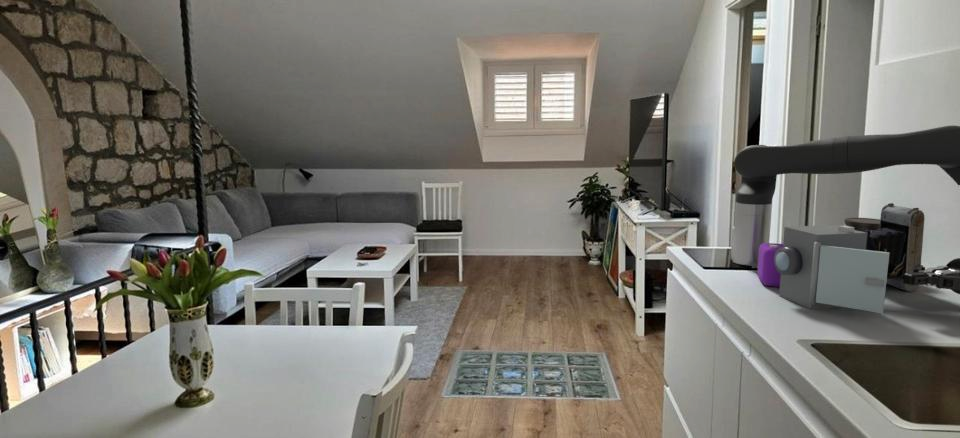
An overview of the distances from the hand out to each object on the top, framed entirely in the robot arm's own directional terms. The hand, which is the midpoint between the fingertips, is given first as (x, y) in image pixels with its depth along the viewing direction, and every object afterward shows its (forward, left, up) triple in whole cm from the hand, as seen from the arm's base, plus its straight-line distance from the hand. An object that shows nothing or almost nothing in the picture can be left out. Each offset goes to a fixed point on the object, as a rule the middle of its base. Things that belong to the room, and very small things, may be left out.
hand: (906, 279), depth 117 cm
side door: (-3, -11, -6) cm, 13 cm away
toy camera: (-30, -6, -8) cm, 31 cm away
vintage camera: (-21, +13, -8) cm, 26 cm away
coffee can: (-34, +22, -8) cm, 41 cm away
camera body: (-14, -9, -8) cm, 18 cm away
